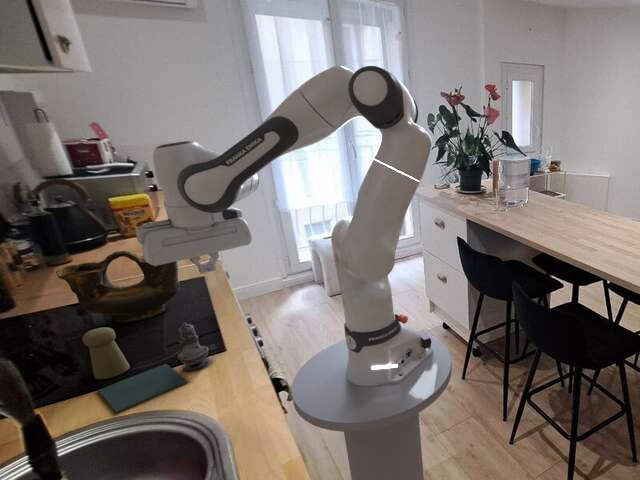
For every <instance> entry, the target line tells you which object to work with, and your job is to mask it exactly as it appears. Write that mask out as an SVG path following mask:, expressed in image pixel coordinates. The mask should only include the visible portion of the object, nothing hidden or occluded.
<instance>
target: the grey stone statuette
mask: <svg viewBox="0 0 640 480" xmlns="http://www.w3.org/2000/svg"><path fill="white" fill-rule="evenodd" d="M177 330H178V334H179V338H180V340H179V343H180V344H181V346H182V348H183V349H182V351H181V352H180V353H178V354H177V359H178V360H179V361H180V362H181V363H182V364H183V367H182V371H184V372H185V373H192V372H197V371H200V370H202V369H205V368H207V367H208V366H209V365H210V364H211V363H212V362H211V359H209V358H207V357H208V354H209V347H208V346H205V345H200V342H199V338H200V337H199V335H197V334H196V329H195V327H194V325H193V324H190V323H187V322H185V321H184V322H182V325H181V326H180V327H179V328H178V329H177Z"/></svg>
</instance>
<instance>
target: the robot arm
mask: <svg viewBox="0 0 640 480" xmlns="http://www.w3.org/2000/svg"><path fill="white" fill-rule="evenodd" d="M419 115H420V114H419V107H418V105H417V102H416V100H415V99H414V97H413V96H412V95H411V94H410V92H409V90H408V89H407V87H406V85H404V84H403V82H401V81H400V80H399V79H398V78H397V77H396V75H394V74H393V73H392V72H391V71H389V70H387V69H386V68H383V67H381V66H376V65H366V66H363V67H360V68H359V69H357V70H356V71H353V70H352V69H350V68H348V67H346V66H343V65H334V66H333V65H332V66H331V67H329V68H327V69H325V70H323V71H321V72H319V73H317V74H316V75H314V76H312V77H311V78H309V79H308V80H306V81H305V82H304V83H302V84H301V85H299V87H297V88H296V89H294V90H293V91H292V92H291V93H290V94H289V95H288V96H287V97H285V98H284V100H283V101H282V102H281V103H280V104H278V106H277V107H276V108H275V109H274V110H273V111H272V112H271V113H270V114H269V115H268V116H267V117H266V118H265V119H264V120H263V121H262V123H260V124H259V125H258V127H256V128H255V129H253V131H251V132H249V134H248V135H246V136H244V137H243V138H242V139H241V140H239V141H238V142H236V143H235V144H234V145H232V146H231V147H230V148H228V149H227V150H225V151H224V152H223V153H221V152H217V151H213V150H211V149H208V148H206V147H204V146H203V145H201V144H200V143H198V142H197V141H192V140H184V141H177V142H171V143H164V144H160V145H158V146H157V147H156V148H154V150H153V154H152V155H153V156H152V159H153V168H154V172H155V177H156V180H157V184H158V187H159V188H160V189H161V191H162V194H163V205H164V209H165V212H166V216H167V219H161V220H157V221H152V222H148V221H147V222H144V223H142V224H141V225H140V226H138V227H137V228H136V230H135V237H136V239H137V241H138V243H139V244H141V252H142V256H143V257H144V260H145V261H146V262H147V263H149V264H151V265H153V266H158V265H162V264H167V263H171V262H176V261H177V262H181V261H184V260H189V261H190V262H192V263H193V264H194V265H195V266H196V267H197V270H198V272H199V273H200V274H201V275H203V274H206V273H211V272H214V271H217V267H216V264H217V261H218V259H219V256H220V255H219V252H223V251H227V250H233V249H236V248H240V247H245V246H249V245H250V244H251V243H252V241H253V237H252V233H251V231H250V227H249V225H248V223H247V221H246V220H245V219H244V218H242V217H243V211H242V210H241V209H239V208H238V207H235V206H233V205H234V204H236V203H238V202H240V201H242V200H244V199H247V197H249V196H251V195H252V194H253V193H254V192H256V191H257V189H258V187H259V186H260V185H259V184H260V176H259V172H260V171H262V170H263V169H264V168H265V167H267V166H268V165H269V164H271V163H272V162H273V161H275V160H277V159H279V158H280V157H282V156H284V155H286V154H289V153H291V152H295V151H297V150H300V149H301V150H302V149H303V148H307V147H309V146H312V145H316V144H317V143H319V142H321V141H323V140H325V139H326V138H328V137H330V136H332V135H333V134H334V133H336V132H338V130H340V129H341V128H342V127H344V126H345V125H346V124H347V123H349V122H350V121H351V120H353V119H356V118H364V119H365V120H367V122H368V123H370V125H371V126H373V127H374V128H375V129H377V130H379V132H380V143H379V145H378V148H377V150H376V153H375V155H374V157H373V158H372V160H371V162H370V165H369V167H368V170H367V172H366V173H365V176H364V178H363V180H362V183H361V184H360V187H359V189H358V192H357V199H356V201H355V202H356V203H355V206H354V208H353V209H354V210H353V213H352V215H350V216H345V217H343V218H341V219H339V220H338V221H337V222H336V224H334V227H333V229H332V232H331V236H330V242H331V248H332V254H333V258H334V259H333V260H334V264H335V269H336V276H337V278H338V279H337V280H338V285H339V289H340V293H341V300H342V307H343V313H344V314H343V315H344V321H345V322H344V325H343V327H344V335H345V339H346V342H347V346H348V365H347V370H346V378H347V380H348V381H349V382H351V383H352V384H355V385H358V386H377V385H382V384H398V383H401V382H402V381H403V380H404V379H405V378H407V377H408V376H409V375H410V374H411V373H412V372H413V371H414V370H415V369H417V368H418V367H419V366H420V365H421V364H422V363H423V362H424V361H425V360H426V359H428V358H429V357H430V356H431V355H432V354H433V349H432V347H431V339H430V337H431V336H430V335H429V334H428V333H427V332H426V331H425V329H421V330H416V329H415V328H412V327H410V326H407V325H405V324H407V323H408V321H409V317H408V316H407V315H404V314H403V313H401V314H398V313H397V312H395V311H394V305H393V303H394V302H393V293H392V287H391V283H390V280H389V275H390V274H391V272H392V271H393V269H394V267H395V265H396V264H395V263H396V250H397V247H398V243H399V240H400V236H401V232H402V228H403V224H404V221H405V218H406V215H407V211H408V209H409V207H410V205H411V203H412V201H413V198H414V196H415V194H416V192H417V190H418V187H419V185H420V183H421V181H422V179H423V176H424V174H425V172H426V169H427V166H428V163H429V160H430V157H431V153H432V148H433V139H432V136H431V135H430V134H429V133H428V132H427V130H426V129H424V128H423V127H422V126H421V125H419V124H418V123H419V118H420V117H419ZM205 255H206V256H209V260H208V262H206V263H201V262H199V261H201V256H205ZM429 336H430V337H429Z"/></svg>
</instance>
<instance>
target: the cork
mask: <svg viewBox="0 0 640 480" xmlns="http://www.w3.org/2000/svg"><path fill="white" fill-rule="evenodd" d="M116 336H117V335H116V332H115V330H114V329H113V328H111V327H105V326H104V327H98V328H94V329H93V328H92V329H91V330H88V331H87V332H85V333H84V334H83V336H82V338H81V339H82V343H83V345H85V347H87V348H88V349H89V354H90V361H91V366H92V367H91V368H92V372H93V378H94V379H96V380H107V379H110V378H114V377H117V376H120V375H121V374H124V373H125V372H127V371H128V370H129V369H130V367H131V365H130V363H129V362H128V360H127V358H126V357H125V355H124V354H123V352H122V350H121V349H120V347H119V346H118V344H117V343H116V341H115V339H116Z"/></svg>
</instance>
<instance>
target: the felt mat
mask: <svg viewBox="0 0 640 480" xmlns="http://www.w3.org/2000/svg"><path fill="white" fill-rule="evenodd" d="M188 383H189V382H188V380H187V379H185V378H184V377H183V376H182V375H181V374H179V373H178V372H177V371H176V370H174V369H173V367H171V366H170V365H169V364H168V363H163V364H161V365H158V366H156V367H153V368H151V369H148V370H146V371H144V372H141V373H139V374H136V375H133V376H131V377H127V378H125V379H123V380H120V381H118V382H115V383H113V384H110V385H107V386H105V387H102V388H100V389H97V392H98V393H99V394H100V395H101V397H102V398H103V400H105V401H106V402H107V404H109V406H110V408H112V410H114V412H115V413H116V414H119V413H122V412H124V411H126V410H128V409H131V408H133V407H135V406H138V405H140V404H142V403H144V402H146V401H149V400H152V399H153V398H156V397H158V396H160V395H163V394H165V393H168V392H170V391H172V390H175V389H177V388H179V387H180V386H181V387H182V386H184V385H187V384H188Z"/></svg>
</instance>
